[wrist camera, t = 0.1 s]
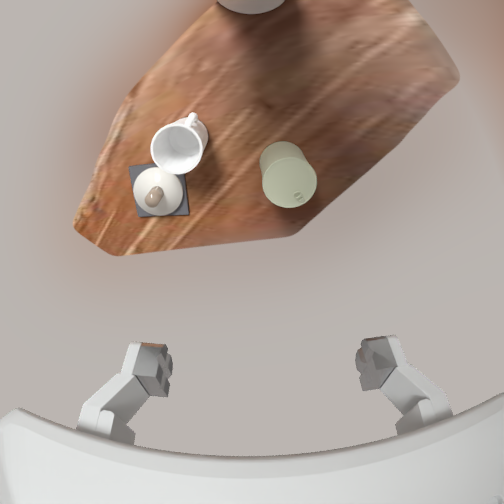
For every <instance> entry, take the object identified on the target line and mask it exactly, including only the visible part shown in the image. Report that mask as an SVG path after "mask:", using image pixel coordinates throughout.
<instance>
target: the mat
mask: <svg viewBox="0 0 504 504" xmlns="http://www.w3.org/2000/svg"><path fill="white" fill-rule="evenodd" d="M151 167H158V166H157V165H156V164H155V163H153V164H144V165H135V166H130V167H129V172H130V178H131V183H132V188H134V183H135V181H136V179H137V177H138V176H139V175H140V174H141V173H142V172H143V171H144V170H146V169H148V168H151ZM176 175H177V177H178V178H179V179H180V181H181V183H182V186H183V198H182V201H181V203H180V205H179V206H178V208H177V209H176V210H175V211H173V212H172V213H170V214H167V215H188V214H189V207H188V199H187V191H186V182H185V173H183V174H176ZM133 193H134V192H133ZM134 198H135V197H134ZM135 203H136V208H137V213H138V217H143V216H157V215H152V214H150V213H148V212H146V211H144V210H143V209H142V208H141V207H140V206H139V205H138V203H137V202H136V200H135ZM162 216H163V215H162Z"/></svg>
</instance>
